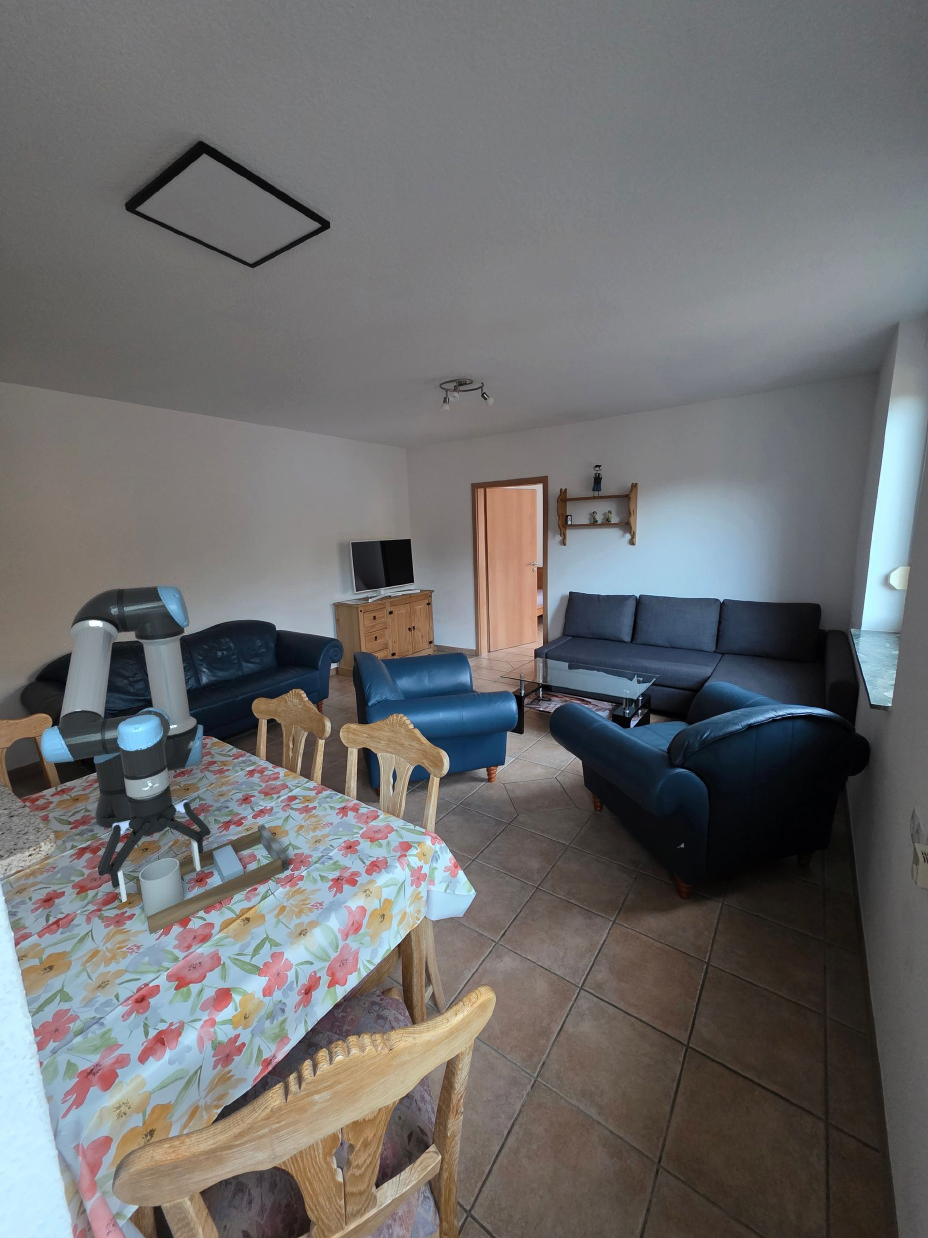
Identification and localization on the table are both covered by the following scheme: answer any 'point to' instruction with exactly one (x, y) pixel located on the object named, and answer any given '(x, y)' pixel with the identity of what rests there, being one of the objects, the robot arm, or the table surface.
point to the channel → (226, 888)
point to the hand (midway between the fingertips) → (162, 882)
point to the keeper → (227, 863)
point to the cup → (161, 885)
